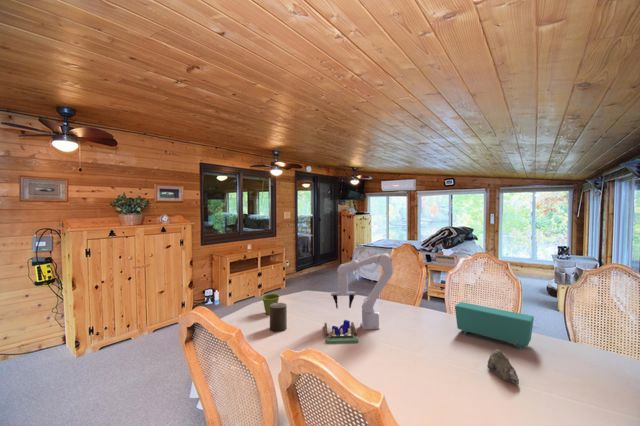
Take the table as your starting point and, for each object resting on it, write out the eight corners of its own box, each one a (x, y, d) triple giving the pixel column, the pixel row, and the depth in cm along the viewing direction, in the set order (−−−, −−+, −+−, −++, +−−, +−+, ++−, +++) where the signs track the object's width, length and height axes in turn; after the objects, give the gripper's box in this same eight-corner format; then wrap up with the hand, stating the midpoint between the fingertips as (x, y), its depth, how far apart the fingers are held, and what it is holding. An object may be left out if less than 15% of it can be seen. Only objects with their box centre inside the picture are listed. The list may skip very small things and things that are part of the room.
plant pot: (259, 311, 196) (259, 295, 196) (277, 309, 201) (276, 292, 201) (264, 317, 186) (264, 300, 185) (282, 314, 191) (282, 297, 190)
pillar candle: (275, 333, 162) (275, 306, 162) (266, 328, 169) (266, 302, 169) (290, 329, 168) (290, 303, 168) (280, 324, 176) (280, 299, 175)
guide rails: (353, 325, 172) (353, 322, 172) (356, 336, 157) (356, 333, 157) (324, 326, 171) (324, 322, 171) (325, 337, 156) (325, 333, 156)
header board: (356, 337, 156) (356, 328, 156) (358, 342, 150) (358, 333, 150) (326, 338, 155) (326, 328, 155) (326, 343, 149) (326, 333, 149)
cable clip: (343, 329, 167) (343, 319, 166) (349, 331, 164) (349, 321, 163) (329, 336, 157) (329, 325, 157) (336, 339, 155) (336, 327, 154)
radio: (534, 345, 144) (534, 315, 144) (531, 353, 137) (530, 321, 136) (460, 327, 167) (460, 300, 167) (454, 332, 160) (454, 305, 159)
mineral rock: (519, 390, 110) (519, 363, 109) (486, 381, 115) (486, 356, 115) (517, 373, 121) (517, 349, 120) (487, 366, 126) (487, 343, 126)
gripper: (354, 282, 177) (354, 305, 177) (330, 283, 177) (330, 305, 177) (356, 285, 170) (356, 309, 170) (331, 286, 170) (331, 309, 170)
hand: (343, 307), depth 173 cm, fingers open, 7 cm apart
